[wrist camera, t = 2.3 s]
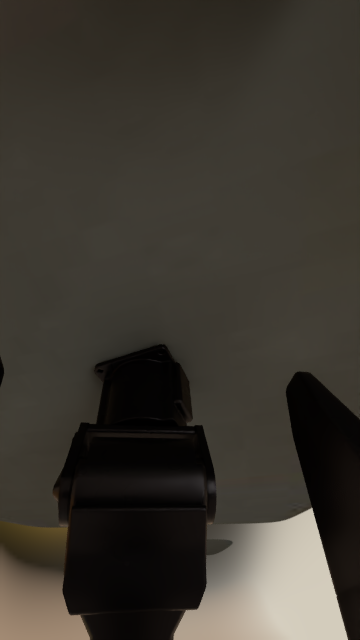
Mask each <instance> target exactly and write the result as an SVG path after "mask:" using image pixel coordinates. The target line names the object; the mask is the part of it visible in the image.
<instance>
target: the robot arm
mask: <svg viewBox="0 0 360 640" xmlns="http://www.w3.org/2000/svg"><path fill="white" fill-rule="evenodd" d="M160 350H164V351H160ZM100 369H102V370H100ZM94 372H95V373H96V375H97V376H98V377H99V378H100V380H101V381H102V382H103V388H102V394H101V399H100V405H99V411H98V416H97V422H96V424H89V423H84V422H81V424H80V427H79V430H78V432H76V433H75V436H74V438H73V440H72V444H71V448H70V450H69V453H68V456H67V459H66V462H65V465H64V467H63V469H62V471H61V473H60V475H59V477H58V479H57V481H56V483H55V485H54V488H53V496H54V498H55V499H56V500H57V502H58V510H59V524H60V526H68V532H67V543H66V553H65V563H64V582H63V595H64V599H65V602H66V606H67V609H68V612H69V614H70V615H81V618H82V620H83V622H84V625H85V627H86V629H87V632H88V634H89V636H90V640H173V636H174V633H175V631H176V629H177V627H178V625H179V623H180V621H181V619H182V617H183V615H184V613H185V611H186V610H195V609H198V607H199V605H200V602H201V600H202V597H203V594H204V591H205V588H206V540H207V539H206V537H207V524H212V523H213V522H214V519H215V513H216V482H215V474H214V468H213V464H212V460H211V456H210V453H209V449H208V445H207V441H206V437H205V434H204V430H203V426H202V425H195V426H187V423H188V422H191V420H192V419H193V416H192V406H191V396H190V387H189V381H188V379H187V377H186V375H185V373H184V371H183V369H182V367H181V365H180V364H179V363H177V362H176V363H175V361H174V359H173V357H172V355H171V353H170V351H169V350H168V348H167V346H165V345H162V344H161V345H157V346H154V347H151V348H147V349H144V350H141V351H138V352H134V353H131V354H128V355H125V356H122V357H118V358H115V359H112V360H109V361H106V362H102V363H99V364H97V365H96V366H95V370H94ZM3 376H4V367H3V364H2V360H1V357H0V386H1V383H2V379H3ZM286 397H287V403H288V409H289V415H290V421H291V428H292V433H293V438H294V442H295V446H296V450H297V454H298V457H299V461H300V465H301V468H302V472H303V476H304V479H305V483H306V487H307V490H308V494H309V498H310V501H311V505H312V508H313V512H314V516H315V519H316V523H317V527H318V530H319V534H320V537H321V541H322V545H323V549H324V552H325V556H326V560H327V563H328V567H329V570H330V574H331V578H332V582H333V585H334V589H335V592H336V595H337V600H338V604H339V608H340V612H341V615H342V619H343V622H344V626H345V630H346V633H347V637H348V640H360V419H359V418H358V417H357V416H356V415H354V414H353V413H352V412H351V411H350V410H349V409H348V408H347V407H346V406H345V405H344V404H343V403H342V402H341V401H340V400H339V399H338V398H336V397H335V396H334V395H333V394H332V393H331V392H330V391H329V390H328V389H327V388H326V387H325V386H324V385H323V384H322V383H321V382H320V381H318V380H317V379H316V378H315V377H314V376H313V375H312V374H311V373H309V372H296V373H295V374H294V376H293V378H292V379H291V381H290V383H289V384H288V386H287V389H286Z"/></svg>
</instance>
